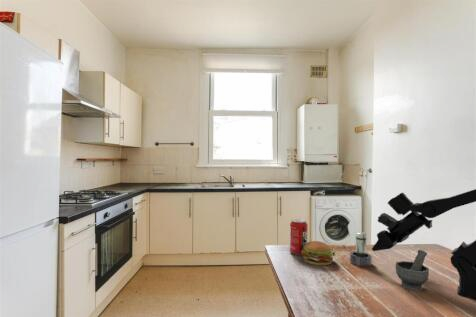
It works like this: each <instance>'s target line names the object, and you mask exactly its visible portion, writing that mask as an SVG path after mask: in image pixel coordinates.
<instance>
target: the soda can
mask: <svg viewBox="0 0 476 317" xmlns="http://www.w3.org/2000/svg"><path fill="white" fill-rule="evenodd" d="M308 227H309V225H308V223H307V220H306V219H302V218H293V219H291V222H290V223H289V252H290V253H291V254H293V255H295V256H302V254H301V251H302V250H303V246H305V244H306V243H308V236H309V235H308V232H309V230H308V229H309V228H308Z"/></svg>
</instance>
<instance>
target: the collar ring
mask: <svg viewBox="0 0 476 317" xmlns="http://www.w3.org/2000/svg"><path fill="white" fill-rule="evenodd" d="M372 258H373V257H372V255H371V254H369V253H367V252H366V257H358V256H356V250H355V251H350V253H349V262H350V264H352V265H354V266H357V267H361V268H362V267H363V268H369V267H372V264H373V262H372Z"/></svg>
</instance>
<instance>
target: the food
mask: <svg viewBox="0 0 476 317" xmlns="http://www.w3.org/2000/svg"><path fill="white" fill-rule="evenodd" d="M301 254H302V255H301V257H302V260H303V261H304V262H306V263H308V264H310V265H313V266H321V267H322V266H328V265H331V264H332V262H333V260H334V258H333V257H335V256H336V252H335V251H334V248H333V247H331V246H330V245H329V244H328V243H325V242H324V241H323V242H322V241H320V240H313V241H309V242H308V241H307V243H306V244H305V246H303V250H302V251H301Z"/></svg>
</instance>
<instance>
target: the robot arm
mask: <svg viewBox="0 0 476 317" xmlns="http://www.w3.org/2000/svg"><path fill="white" fill-rule="evenodd" d="M475 202H476V188H474V189H471V190H468V191H466V192H462V193H459V194H456V195H452V196H449V197H443V198H442V197H441V198H436V199H429V200H427V201H424V202H416V203H415V202H413V201H411V199H410V198H409V197H408V196H407V195H406V194H405V193H404V192H401V193H399V194H398V195H396V196H395V197H392V198H391V199H390V200H388V202H387V204H388V205H389V207H390V208H392V210H393V211H394V212H395V214H397V215H398V216H399V215H402V216H404V217H403V218H401V219H398V220H397V219H396V218H394V217H392V216H391V215H389V214H388V213H385V212H381V214H380V215H379V216H378V217H377V218H378V219H377V222H378V223H380V224H382V225H383V226H385V227H387V228H386V230H385V229H383V230H381V231H379V232H378V233H376V237H377V241H376V242H375V243H374V245H373V246H372V248H371V250H372V252H377V251H385V250H390V249H392V248H394V247H395V246H396V245H398V244H400V243H403V242H405V241H406V240H408V239H409V238H410V235H413V234H414V233H416V231H418V230H419V229H420V228H422V227H423V226H425V227H426V228H427V229H432V227H433V219H435V218H436V217H438V216H440V215H442V214H445V213H446V212H448V211H449V212H450V210H452V209H455V208H459V207H463V206H465V205H468V204H472V203H475ZM409 212H410V213H409ZM450 253H451V257H450V264H451V265H452V267H453V268H455V269H456V271H457V273H458V275H459V278H458V279H459V280H458V281H459V282H458V283H459V284H458V286H457V290H456V291H457V295H460V296H464V297H467V298H471V299H475V300H476V239H474V240H473V241H472V242H469V243H466V242H465V241H462V242H461V244H460V245H459V246H458V247H456V248H453V250H452V252H450Z"/></svg>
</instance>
